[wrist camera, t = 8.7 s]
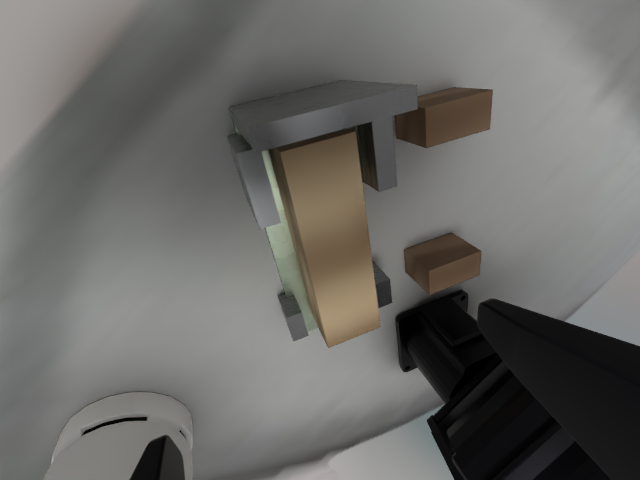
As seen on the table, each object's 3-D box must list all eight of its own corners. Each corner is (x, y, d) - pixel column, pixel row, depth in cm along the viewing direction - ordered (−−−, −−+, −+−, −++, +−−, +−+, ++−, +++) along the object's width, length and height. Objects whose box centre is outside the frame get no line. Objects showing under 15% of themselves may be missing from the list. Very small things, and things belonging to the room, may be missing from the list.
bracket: (377, 298, 25) (434, 368, 19) (289, 332, 24) (321, 419, 18) (349, 78, 18) (429, 81, 12) (218, 109, 16) (232, 131, 10)
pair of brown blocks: (451, 254, 26) (479, 274, 23) (405, 272, 25) (429, 294, 22) (454, 87, 20) (492, 89, 17) (394, 103, 19) (425, 107, 16)
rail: (357, 294, 24) (380, 326, 21) (310, 312, 23) (328, 347, 20) (328, 121, 18) (355, 131, 15) (265, 137, 17) (280, 152, 14)
